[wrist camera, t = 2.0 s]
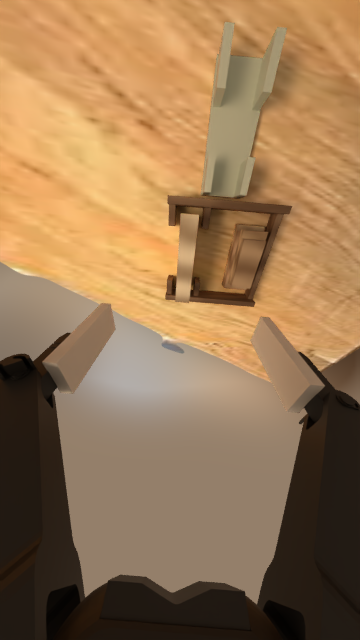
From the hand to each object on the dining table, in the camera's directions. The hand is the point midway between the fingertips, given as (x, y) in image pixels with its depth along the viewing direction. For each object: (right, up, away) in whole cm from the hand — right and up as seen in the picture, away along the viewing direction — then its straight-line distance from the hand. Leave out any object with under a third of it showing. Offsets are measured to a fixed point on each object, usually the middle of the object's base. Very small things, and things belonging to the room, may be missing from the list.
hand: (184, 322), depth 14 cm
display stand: (+8, +32, +14) cm, 36 cm away
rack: (+8, +16, +25) cm, 31 cm away
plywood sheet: (+1, +17, +25) cm, 30 cm away
